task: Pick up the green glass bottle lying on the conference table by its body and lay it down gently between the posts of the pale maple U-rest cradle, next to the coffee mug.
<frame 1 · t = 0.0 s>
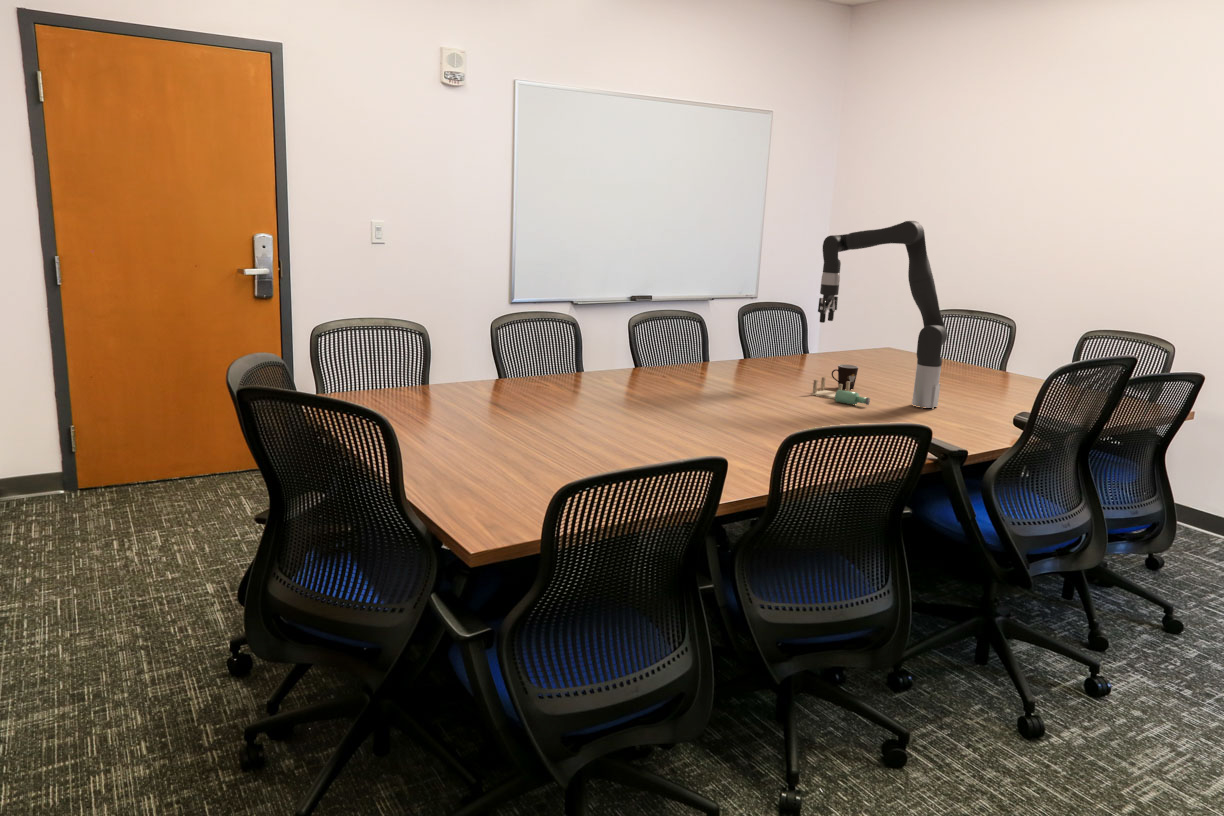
hand: (826, 321, 371), 29 cm above the table, tool pointing down, fingers open, 8 cm apart
cradle: (830, 395, 365), on the table
coffee mug: (842, 388, 381), on the table
bottle: (846, 403, 352), on the table
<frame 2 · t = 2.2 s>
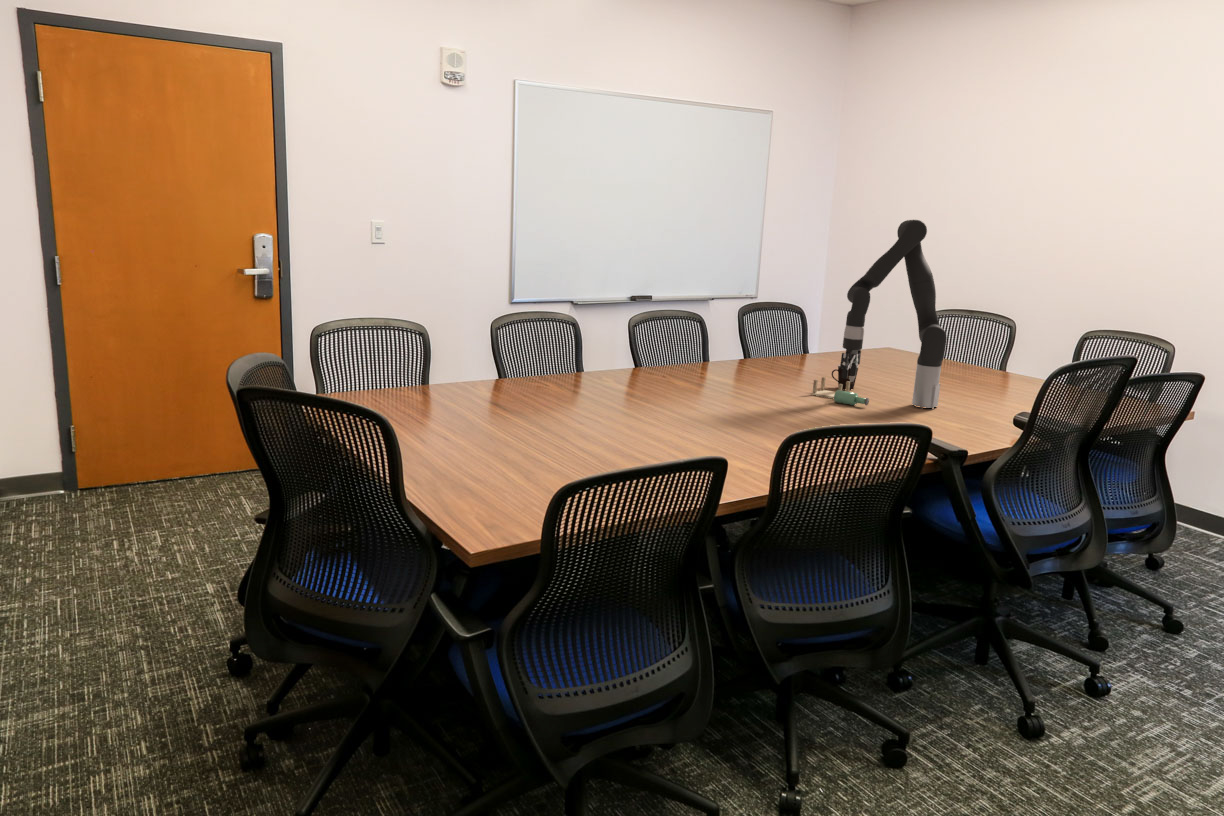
hand: (848, 377, 350), 11 cm above the table, tool pointing down, fingers open, 8 cm apart
bottle: (846, 403, 352), on the table, tilted 24°
everything else where it was.
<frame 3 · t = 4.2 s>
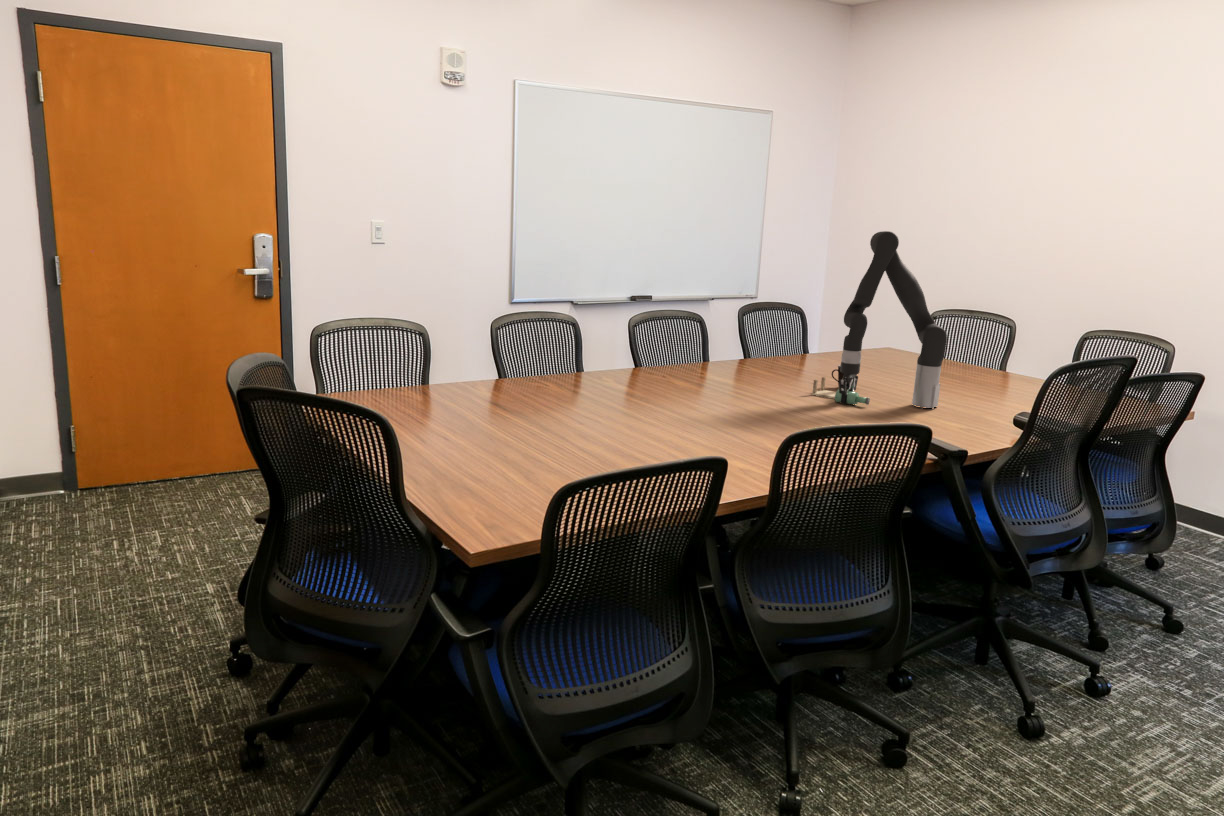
hand: (846, 402, 352), 0 cm above the table, tool pointing down, fingers closed on bottle, 5 cm apart
bottle: (846, 403, 352), on the table, touching gripper
everything else where it was.
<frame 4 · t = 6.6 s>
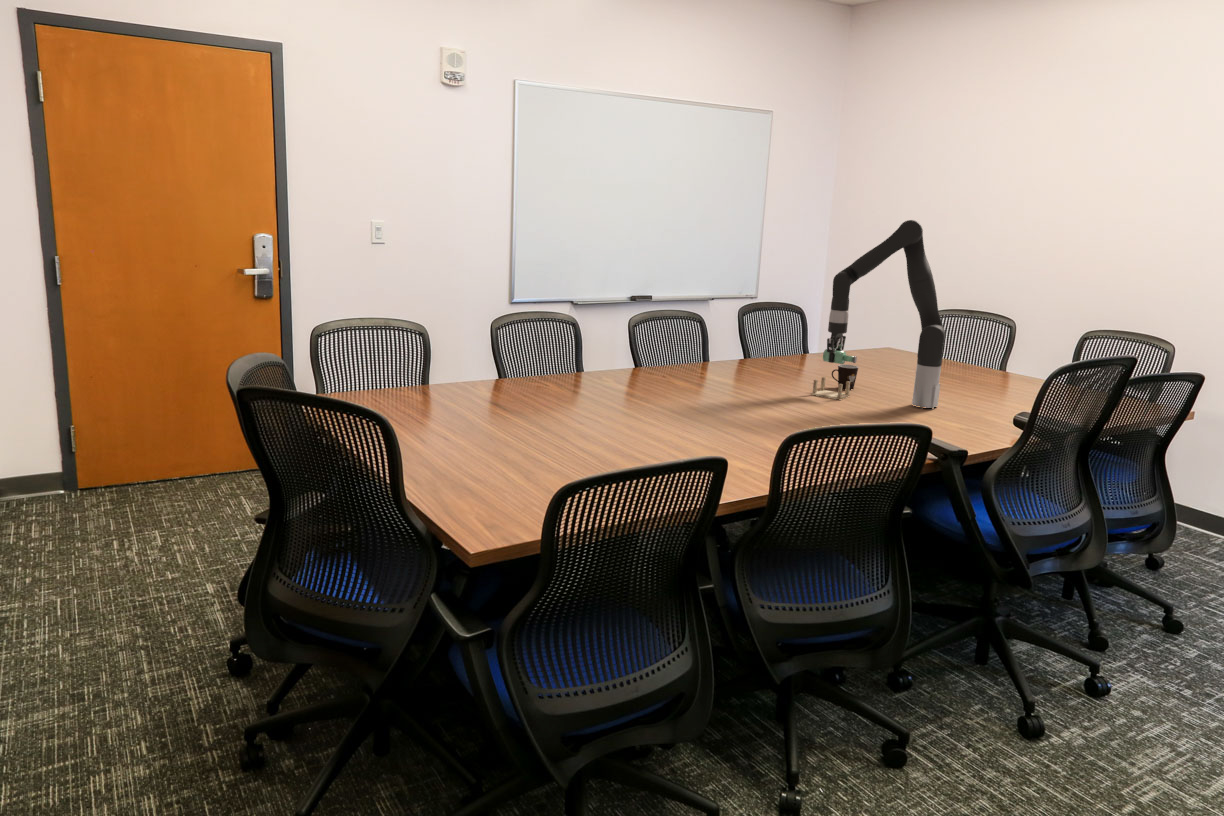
hand: (834, 361, 361), 15 cm above the table, tool pointing down, fingers closed on bottle, 5 cm apart
bottle: (834, 362, 362), point 14 cm above the table, touching gripper
everything else where it was.
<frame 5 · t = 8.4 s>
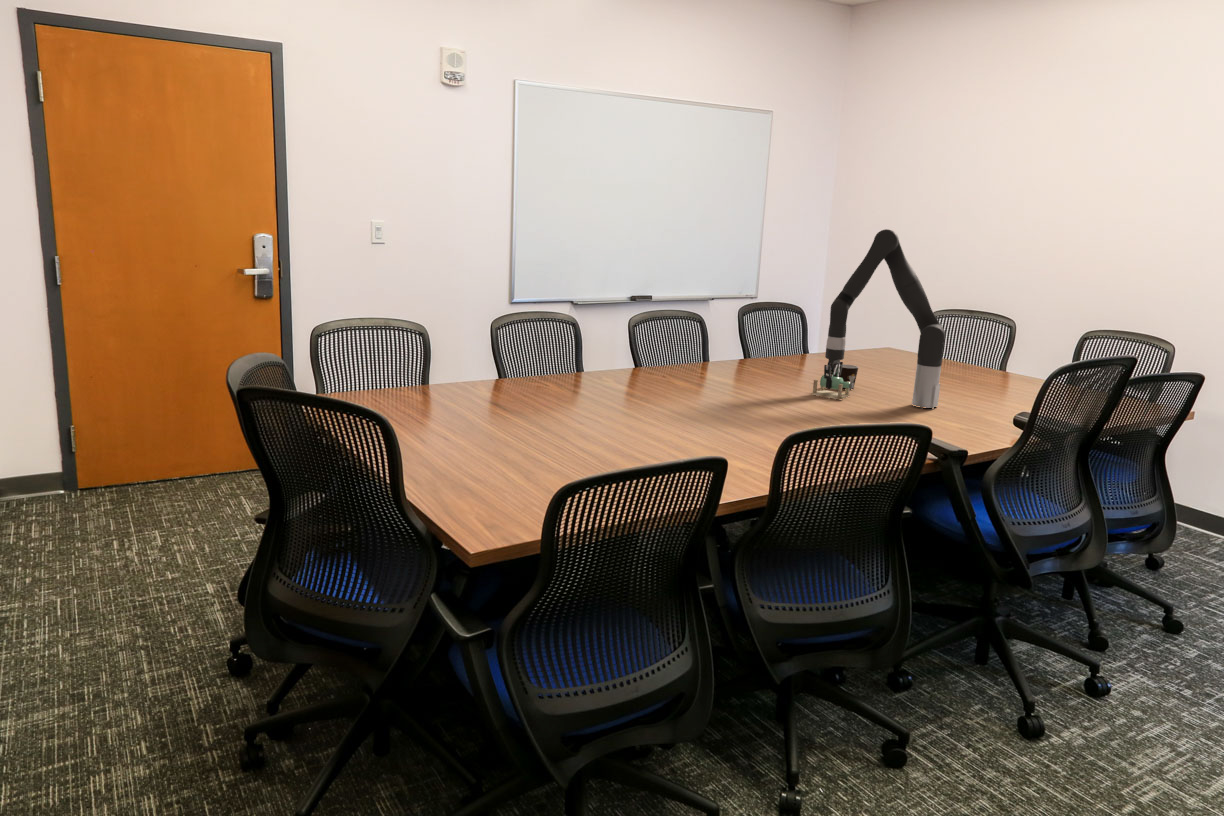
hand: (831, 387, 364), 4 cm above the table, tool pointing down, fingers closed on bottle, 5 cm apart
bottle: (831, 388, 364), point 3 cm above the table, touching gripper
everything else where it was.
when the fingers open (3 cm above the table, at t = 9.5 s): bottle drops 1 cm, resting on cradle.
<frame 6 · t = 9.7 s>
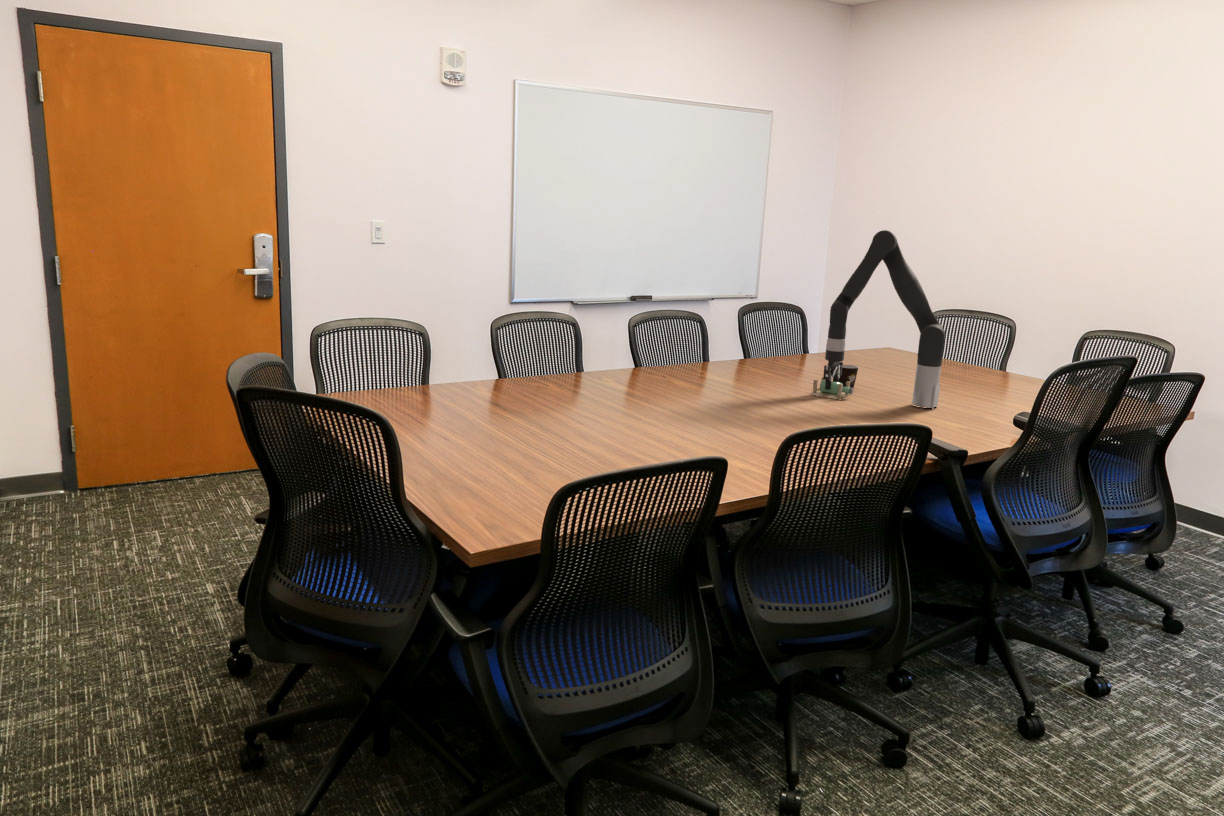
hand: (831, 388, 364), 3 cm above the table, tool pointing down, fingers open, 7 cm apart
bottle: (830, 393, 365), point 1 cm above the table, touching cradle
everything else where it was.
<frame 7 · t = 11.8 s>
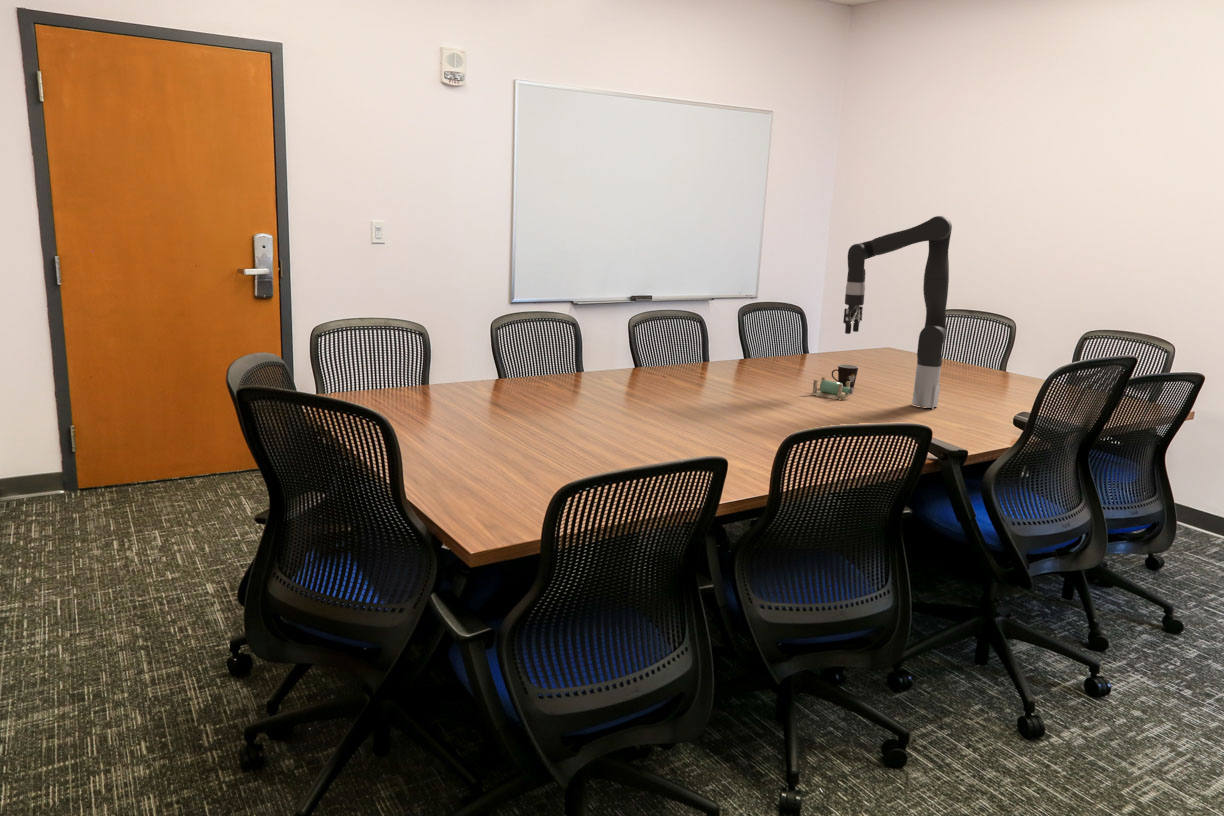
hand: (851, 332, 360), 27 cm above the table, tool pointing down, fingers open, 8 cm apart
nothing on the table moved.
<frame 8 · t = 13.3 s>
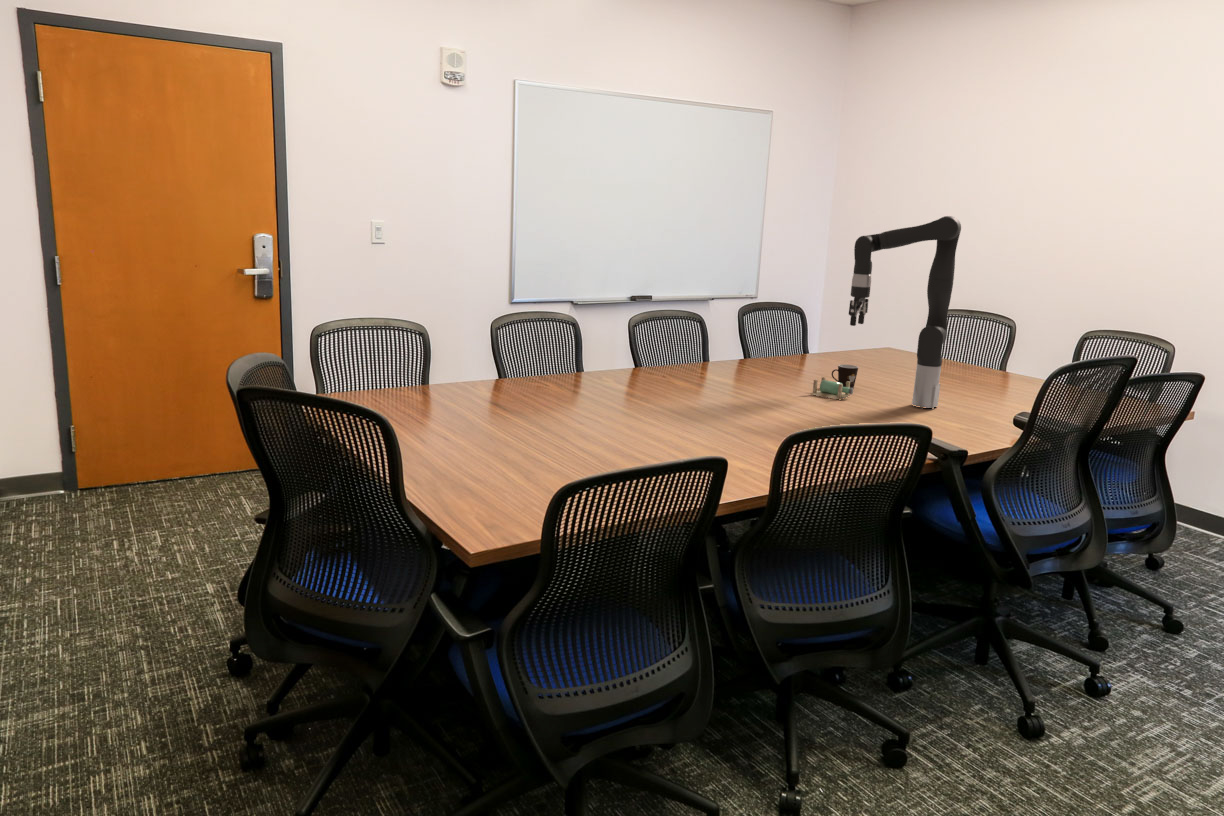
hand: (856, 324, 360), 30 cm above the table, tool pointing down, fingers open, 8 cm apart
nothing on the table moved.
at the end: bottle 0.2 cm off-centre on the cradle, point 1.0 cm above the cradle's base; bottle point 1.0 cm above the table; the gripper is holding nothing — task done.
